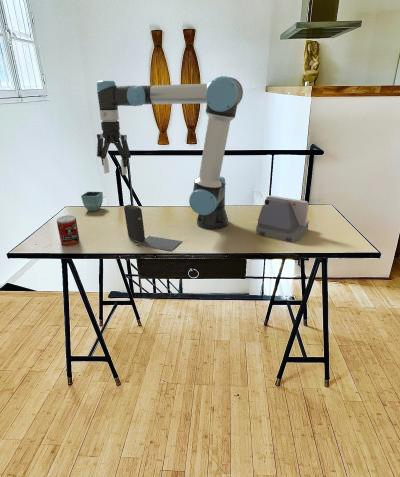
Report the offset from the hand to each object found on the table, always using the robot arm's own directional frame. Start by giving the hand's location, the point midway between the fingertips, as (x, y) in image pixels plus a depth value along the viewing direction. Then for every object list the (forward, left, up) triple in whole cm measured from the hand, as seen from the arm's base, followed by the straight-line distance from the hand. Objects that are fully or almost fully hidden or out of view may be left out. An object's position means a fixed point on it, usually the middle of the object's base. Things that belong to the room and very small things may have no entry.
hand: (115, 173), depth 156 cm
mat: (-27, +12, -25) cm, 39 cm away
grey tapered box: (-73, -19, -26) cm, 80 cm away
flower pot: (+28, -16, -26) cm, 41 cm away
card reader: (-16, +12, -25) cm, 32 cm away
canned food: (+10, +24, -26) cm, 37 cm away
